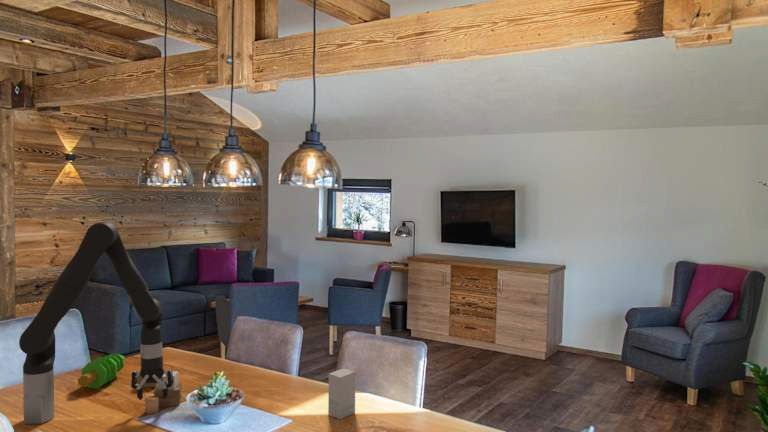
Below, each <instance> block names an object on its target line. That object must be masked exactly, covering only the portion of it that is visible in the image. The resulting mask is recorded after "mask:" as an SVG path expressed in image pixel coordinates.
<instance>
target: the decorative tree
mask: <svg viewBox="0 0 768 432" xmlns="http://www.w3.org/2000/svg"><path fill="white" fill-rule="evenodd" d="M124 366H125V356H124V355H122V354H119V353H110V354H108V355H105V356H104V357H98V358H96V359H93V360H92V361H91V362H88V363H87V364H86V365H84V366H83V368H82V369H81V376H80V377H79V378H77V384H78V385H79V386H80V387H83V388H87V387H88V388H89V389H100V388H101V387H102V386H103V385H106V384H107V383H111V381H113V379H114V378H115V377H117V375H118V373H120V371H121V370H122V369H124Z"/></svg>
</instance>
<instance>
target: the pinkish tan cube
mask: <svg viewBox="0 0 768 432" xmlns="http://www.w3.org/2000/svg"><path fill="white" fill-rule="evenodd" d="M144 410H145V411H144V413H145V414H146V415H155V414H157V413H159V410H160V409H159V397H157V396H154V395H151V396H147V397H145V399H144Z"/></svg>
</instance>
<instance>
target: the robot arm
mask: <svg viewBox="0 0 768 432" xmlns="http://www.w3.org/2000/svg"><path fill="white" fill-rule="evenodd" d="M104 253H105V254H106V255H107V257H108V258H109V260H110V262H111V263H112V267H113V268H114V270H115V273H116V276H117V278H118V280H119V283H120V284H121V285H122V287H123V289H124V290H125V292H126V293H127V295H128V297H129V298H130V299H131V303H132V304H133V307H134V309H135V311H136V313H137V314H138V316H139V317H140V319H141V320H142V322H141V323H142V326H141V329H140V349H139V350H140V351H139V352H140V370H141V371H140V370H137V369H134V370H133V371H132V372H131V381H130V383H131V386H130V387H131V389H135V390H136V397H137V399H138V400H143V398H144V395H143V390H144V388H142V386H143V385H144V383H145V382H147V383H157V382H158V383H159V384H160V385H161V386H162V387H163V388H164V389H163V399H166V397H167V396H168V388H169V387H172V385H173V384H174V383H173V372H172V371H173V369H172V368H170V369H167V370H164V355H163V354H164V350H163V341H162V321H163V320H162V318H163V316H162V315H163V307H162V303H161V302H160V301H159V300H158V299H156V298H153V297H152V296H151V293H150V292H149V289H150V288H149V287H148V285H147V283H146V281H145V279H144V278H143V276H142V275H141V273H140V271H139V270H138V269H137V268H138V267H136V265H135V264H134V261H133V260H132V259H131V257H130V255H129V253H128V251H127V250H126V248H125V245H124V244H123V240H122V238H121V236H120V233H119V230H118V229H117V227H116V225H115V224H113V223H111V222H110V221H100V222H95V223H94V224H92V225H90V226H89V227H88V229H87V230H86V232H85V235H84V237H83V239H82V241H81V243H80V245H79V247H78V248H77V251H76V253H75V255H73V257H72V258H71V260H70V261H69V262H68V263H67V265H66V266H65V268H64V269H63V271H62V272H61V274H60V275H59V276H58V278H57V279H56V281H55V283H54V284H53V286H52V288H51V289H50V291H49V292H48V295H47V297H46V298H45V300H44V301H43V304H42V305H41V308H40V310H39V311H38V312H37V314H36V315H35V317H34V318H33V320H32V321H31V322H30V323H29V325H28V326H27V327H26V328H25V329H24V331H23V332H22V333H21V335H20V337H19V342H18V344H19V349H20V351H22V352H23V353H24V354H26V356H25V359H24V362H23V365H22V379H23V380H22V381H23V387H22V388H23V398H22V400H23V402H22V405H23V406H22V407H23V411H22V412H23V425H35V424H38V425H39V424H44V423H45V422H48V421H51V420H53V419H54V418H55V384H54V383H55V382H54V381H55V379H54V376H55V375H54V373H55V371H54V366H55V365H54V363H55V359H56V333H55V330H56V328H57V326H58V325H59V323H60V322H61V320H63V318H64V317H65V316H66V314H67V313H69V312H70V310H71V309H72V308H73V307H74V306H75V304H76V303H77V302H78V300H79V299H80V297H81V296H82V294H83V292H84V291H85V289H86V287H87V286H88V284H89V281H90V278H91V277H92V274H93V271H94V269H95V267H96V264H97V262H98V261H99V260H100V258H101V256H102V255H103V254H104ZM164 374H165V375H166V376H167V377H168V383H167V382H166V381H165V379H164V378H163V377H162V376H163V375H164ZM139 375H140V376H141V377H142V378H143V380H142V381H141V382H140V384H137V377H138V376H139Z"/></svg>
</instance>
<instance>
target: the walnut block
mask: <svg viewBox="0 0 768 432" xmlns="http://www.w3.org/2000/svg"><path fill="white" fill-rule="evenodd" d="M153 396H157V397H159V407H171V406H173V407H174V406H180V405H181V401H182V382H181V381H180V382H179V381H178V385H177V386H176V388H175V389H168V396H167V397H166V399H163V390H158V384H156V387H154V391H153Z"/></svg>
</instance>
